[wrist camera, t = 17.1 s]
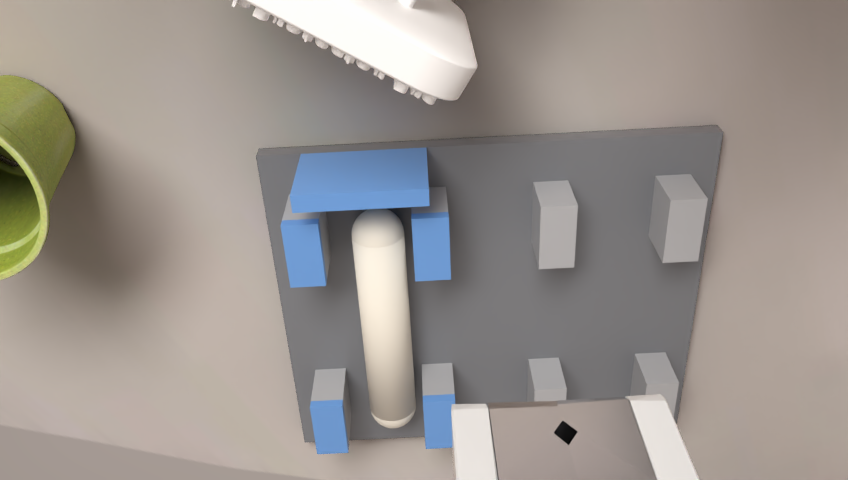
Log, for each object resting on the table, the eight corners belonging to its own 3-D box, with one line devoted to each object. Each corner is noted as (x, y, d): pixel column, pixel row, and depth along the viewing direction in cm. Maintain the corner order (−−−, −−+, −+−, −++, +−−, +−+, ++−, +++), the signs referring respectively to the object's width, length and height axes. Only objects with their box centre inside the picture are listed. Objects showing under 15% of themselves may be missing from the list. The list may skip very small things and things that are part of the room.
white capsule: (343, 204, 45) (356, 228, 43) (393, 194, 46) (409, 217, 43) (366, 412, 53) (378, 443, 51) (409, 401, 54) (422, 431, 52)
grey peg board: (717, 125, 45) (757, 171, 40) (672, 414, 56) (699, 479, 51) (258, 148, 45) (239, 198, 40) (306, 432, 56) (296, 499, 51)
